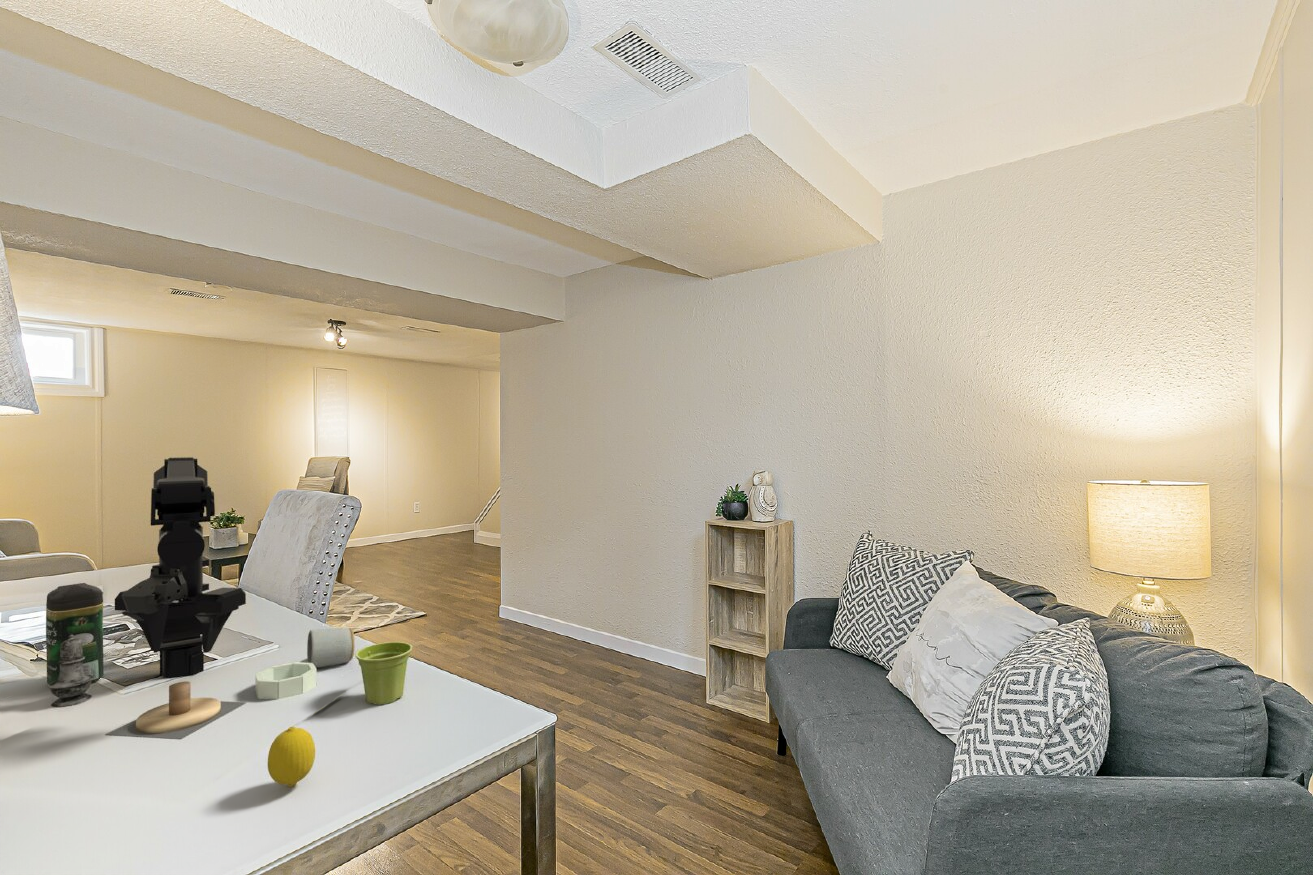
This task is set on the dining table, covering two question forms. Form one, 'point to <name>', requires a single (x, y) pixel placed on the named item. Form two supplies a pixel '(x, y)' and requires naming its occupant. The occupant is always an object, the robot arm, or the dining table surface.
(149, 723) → the lid
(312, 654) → the ceramic mug
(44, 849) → the dining table surface
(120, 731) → the mat
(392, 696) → the plant pot
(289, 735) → the lemon
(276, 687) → the bowl
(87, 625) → the coffee jar
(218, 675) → the dining table surface
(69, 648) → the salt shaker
